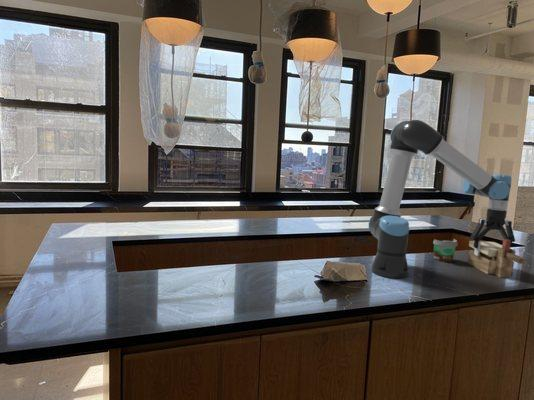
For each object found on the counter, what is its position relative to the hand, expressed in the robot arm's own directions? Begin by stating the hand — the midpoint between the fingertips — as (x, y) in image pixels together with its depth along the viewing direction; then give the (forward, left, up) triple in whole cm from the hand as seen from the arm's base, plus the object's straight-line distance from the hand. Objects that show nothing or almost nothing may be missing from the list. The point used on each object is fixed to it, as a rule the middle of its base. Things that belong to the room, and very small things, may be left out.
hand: (490, 255), depth 177 cm
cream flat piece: (0, 0, +1) cm, 1 cm away
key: (0, -14, +3) cm, 15 cm away
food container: (-15, +10, -6) cm, 19 cm away
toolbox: (0, -2, -6) cm, 6 cm away
